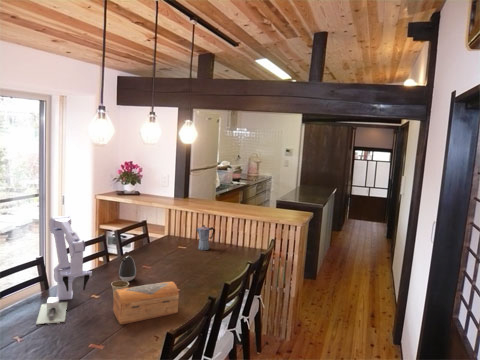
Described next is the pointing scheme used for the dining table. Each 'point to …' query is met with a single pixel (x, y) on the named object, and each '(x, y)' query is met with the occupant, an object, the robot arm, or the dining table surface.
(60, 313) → the rail plate
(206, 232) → the moka pot
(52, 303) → the block
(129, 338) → the dining table surface
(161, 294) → the wooden box
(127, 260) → the egg shaped speaker
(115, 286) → the flower pot
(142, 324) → the dining table surface
